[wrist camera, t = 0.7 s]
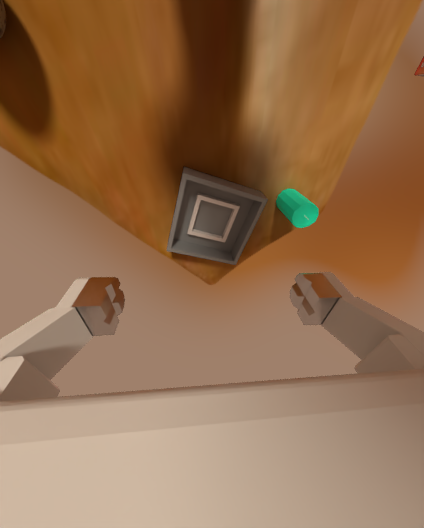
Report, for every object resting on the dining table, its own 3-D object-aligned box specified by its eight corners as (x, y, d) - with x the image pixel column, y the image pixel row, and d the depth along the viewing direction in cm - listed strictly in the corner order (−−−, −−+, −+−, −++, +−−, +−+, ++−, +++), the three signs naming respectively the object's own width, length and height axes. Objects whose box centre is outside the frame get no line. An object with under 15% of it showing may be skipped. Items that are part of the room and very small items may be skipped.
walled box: (183, 166, 44) (183, 172, 39) (260, 191, 49) (268, 199, 44) (168, 239, 55) (166, 250, 51) (232, 253, 60) (235, 264, 56)
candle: (303, 193, 50) (328, 212, 41) (288, 213, 53) (309, 235, 44) (285, 184, 48) (307, 201, 39) (271, 205, 52) (289, 226, 42)
